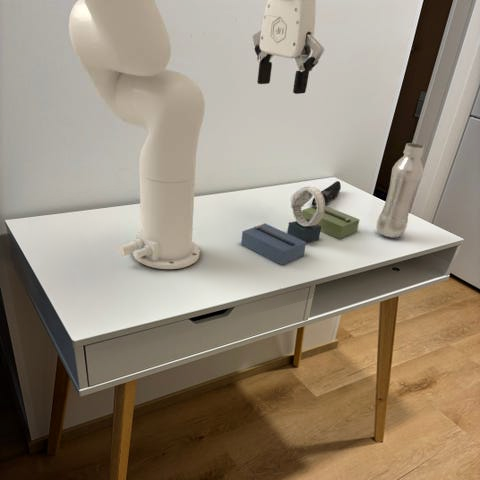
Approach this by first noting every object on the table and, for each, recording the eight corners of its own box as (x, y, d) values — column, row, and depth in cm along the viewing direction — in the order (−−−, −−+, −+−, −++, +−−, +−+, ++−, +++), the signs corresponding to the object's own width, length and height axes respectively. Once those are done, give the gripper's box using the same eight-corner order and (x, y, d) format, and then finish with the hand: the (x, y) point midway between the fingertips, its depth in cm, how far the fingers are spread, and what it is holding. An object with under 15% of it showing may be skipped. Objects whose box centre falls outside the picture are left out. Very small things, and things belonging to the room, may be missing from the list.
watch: (300, 228, 110) (308, 180, 103) (324, 243, 104) (334, 193, 98) (280, 232, 107) (288, 183, 100) (304, 247, 101) (314, 196, 95)
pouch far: (339, 239, 107) (343, 224, 105) (300, 222, 113) (302, 207, 110) (356, 231, 111) (360, 216, 109) (317, 215, 117) (320, 201, 115)
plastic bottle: (368, 230, 112) (392, 141, 101) (390, 227, 115) (415, 140, 104) (387, 242, 108) (414, 150, 96) (409, 239, 111) (438, 149, 99)
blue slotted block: (282, 265, 94) (284, 248, 92) (240, 244, 100) (242, 228, 98) (303, 255, 98) (307, 239, 96) (263, 236, 104) (265, 220, 102)
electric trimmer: (343, 193, 132) (345, 182, 130) (324, 209, 120) (326, 197, 119) (330, 190, 134) (332, 178, 132) (309, 205, 122) (312, 193, 120)
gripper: (246, -19, 92) (238, 80, 101) (318, -11, 82) (301, 98, 92) (273, -16, 96) (262, 79, 106) (344, -8, 87) (325, 96, 96)
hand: (280, 88), depth 99 cm, fingers open, 9 cm apart
